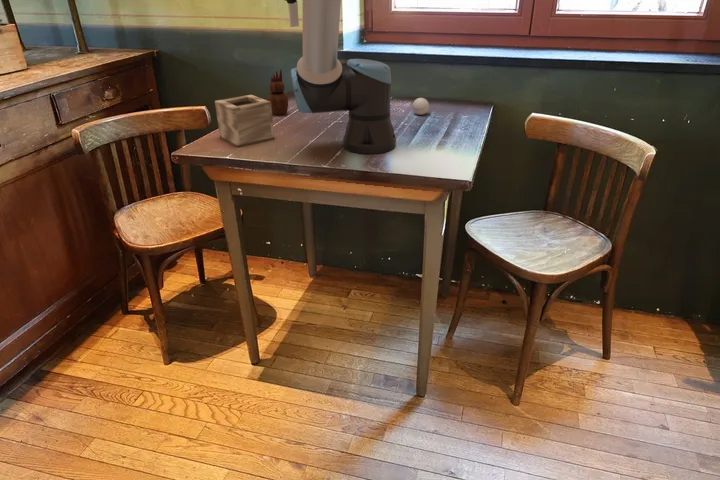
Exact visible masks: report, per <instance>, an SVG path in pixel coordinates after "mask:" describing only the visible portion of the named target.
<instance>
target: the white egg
mask: <svg viewBox="0 0 720 480" xmlns="http://www.w3.org/2000/svg"><path fill="white" fill-rule="evenodd" d="M411 108H412V110H413V112H414V113H415V114H416V115H419V116H422V115H425V114H427V112H428V111H429V108H430V103H429V101H428V100H427V99H426V98H424V97H418V98H416V99H414V101H413V103H412V107H411Z"/></svg>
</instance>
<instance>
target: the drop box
mask: <svg viewBox="0 0 720 480" xmlns="http://www.w3.org/2000/svg"><path fill="white" fill-rule="evenodd" d="M214 106H215V114H216V119H217V126H218V131H219V138H220V139H222V140H224V141H225V142H228V143H229V144H231V145H233V146H235V147H236V148H242V147H245V146H248V145H249V146H250V145H254V144H259V143H263V142H267V141H271V140H275V131H274V119H273V114H272V107H271V102H270V101H268V99H264V98H262V97H259V96H256V95H253V94H248V95H241V96H235V97H230V98H224V99H223V98H222V99H217V100H214Z"/></svg>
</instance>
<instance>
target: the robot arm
mask: <svg viewBox="0 0 720 480" xmlns="http://www.w3.org/2000/svg"><path fill="white" fill-rule="evenodd" d="M284 1H285V2H286V3H287V4H288V15H289V27H291V28H294V27H296V28H297V27H299V26H300V20H299V7H298V6H299V5H298V0H284ZM301 4H302V7H301V8H302V10H301V11H302V56H301V57H300V58H299V59H298V61H297V63H296V67H294V68H291V69H290V76H291V82H292V88H293V91H294V93H293V94H294V98H295V103H296V107H297V110H298V112H300V113H302V114H320V113H322V114H323V113H335V112H336V113H337V112H347V111H348V121H347V124H346V128H345V131H344V135H343V137H342V146H343V149H345V150H347V151H349V152H351V153H355V154H363V155H364V154H366V155H367V154H368V155H369V154H372V155H373V154H382V153H388V152H390V151H392V150H394V149H395V148H396V147H397V137H396V134H395V131H394V127H393V123H392V120H391V99H392V98H391V90H392V89H391V88H392V86H391V85H392V75H391V68H390V66H389V65H388V64H386V63H385V62H382V61H378V60H372V59H366V58H365V59H364V58H350V59H347V60H348V62H347V66H342V65H341V63H340V61H339V60H338V59H339V58H338V50H339V37H340V36H339V35H340V33H339V32H340V23H341V21H340V19H341V4H342V0H302V2H301Z"/></svg>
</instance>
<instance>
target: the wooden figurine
mask: <svg viewBox="0 0 720 480" xmlns="http://www.w3.org/2000/svg"><path fill="white" fill-rule="evenodd" d="M282 71H283V70H282V69H280V71H279V73H278V71H277V70H276V71H275V74H273V76H271V78H270V83H269V91H270V93H268V95H267V101H270V102H271V107H272V115H274V116H284V115H286V114H287V113H288V110H289V96H288V95H287V93H286V92H285V84H284V82H283V73H282Z"/></svg>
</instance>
